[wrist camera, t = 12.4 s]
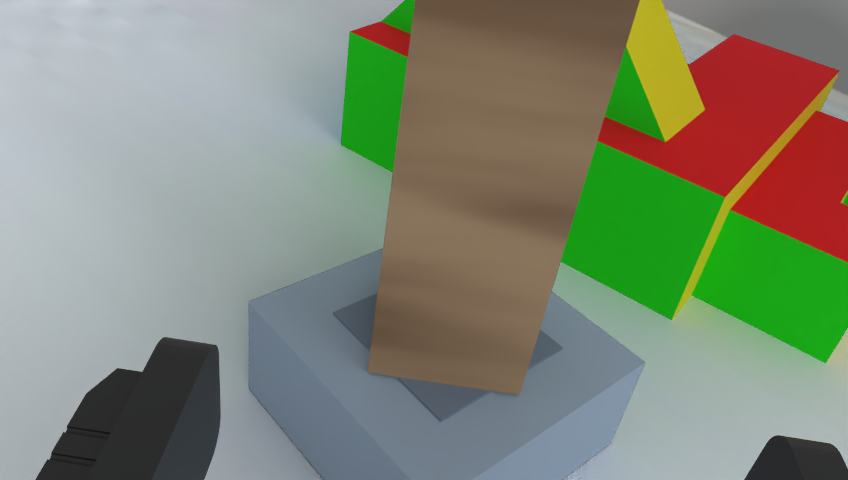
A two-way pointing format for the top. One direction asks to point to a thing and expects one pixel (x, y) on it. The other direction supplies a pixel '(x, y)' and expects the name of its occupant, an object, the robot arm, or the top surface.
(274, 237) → the top surface
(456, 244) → the pillar
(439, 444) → the plinth
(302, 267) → the top surface
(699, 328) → the top surface
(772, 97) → the building blocks toy
